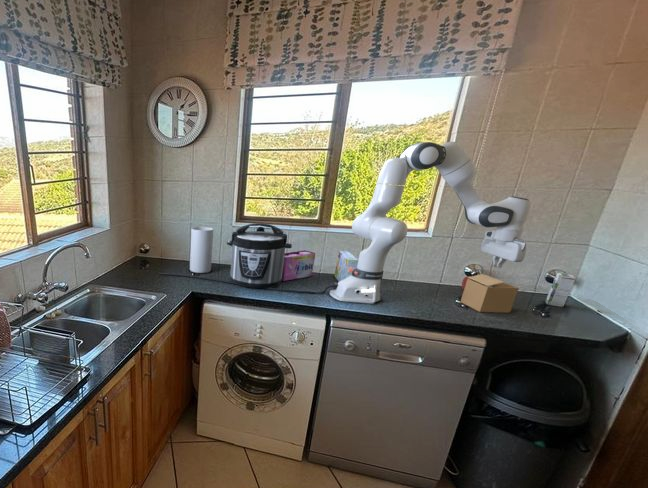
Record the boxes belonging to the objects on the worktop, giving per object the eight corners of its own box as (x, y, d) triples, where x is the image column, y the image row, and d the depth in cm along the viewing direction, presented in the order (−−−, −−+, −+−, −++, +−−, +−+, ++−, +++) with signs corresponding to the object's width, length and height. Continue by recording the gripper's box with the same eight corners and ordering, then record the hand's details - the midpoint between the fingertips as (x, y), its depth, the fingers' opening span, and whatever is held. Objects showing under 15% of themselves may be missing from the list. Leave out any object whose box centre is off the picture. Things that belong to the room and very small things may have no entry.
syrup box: (544, 301, 192) (556, 272, 187) (561, 304, 189) (573, 274, 184) (546, 304, 188) (558, 275, 183) (564, 307, 185) (576, 277, 180)
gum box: (281, 281, 219) (285, 257, 214) (271, 278, 226) (274, 254, 221) (312, 276, 230) (316, 252, 225) (301, 272, 237) (304, 250, 232)
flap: (488, 286, 175) (488, 285, 175) (468, 277, 187) (468, 277, 186) (504, 283, 174) (504, 282, 174) (482, 274, 186) (482, 273, 186)
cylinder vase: (212, 269, 243) (215, 227, 233) (207, 274, 232) (210, 231, 223) (192, 267, 247) (194, 226, 238) (187, 272, 236) (189, 229, 227)
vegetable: (460, 288, 210) (466, 270, 206) (485, 293, 204) (491, 274, 200) (458, 293, 202) (464, 274, 198) (484, 298, 196) (491, 278, 192)
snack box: (353, 288, 209) (359, 260, 204) (342, 287, 210) (347, 259, 205) (343, 276, 229) (349, 250, 223) (333, 276, 230) (338, 250, 224)
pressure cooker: (215, 280, 221) (219, 222, 209) (248, 272, 237) (254, 217, 225) (260, 294, 199) (268, 230, 187) (293, 284, 215) (302, 224, 203)
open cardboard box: (479, 311, 179) (487, 287, 175) (460, 301, 191) (467, 278, 187) (510, 312, 178) (518, 288, 174) (488, 302, 190) (496, 279, 186)
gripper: (535, 240, 163) (523, 273, 168) (497, 231, 182) (487, 261, 187) (519, 240, 163) (507, 273, 168) (482, 231, 182) (473, 261, 187)
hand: (497, 266), depth 178 cm, fingers closed
